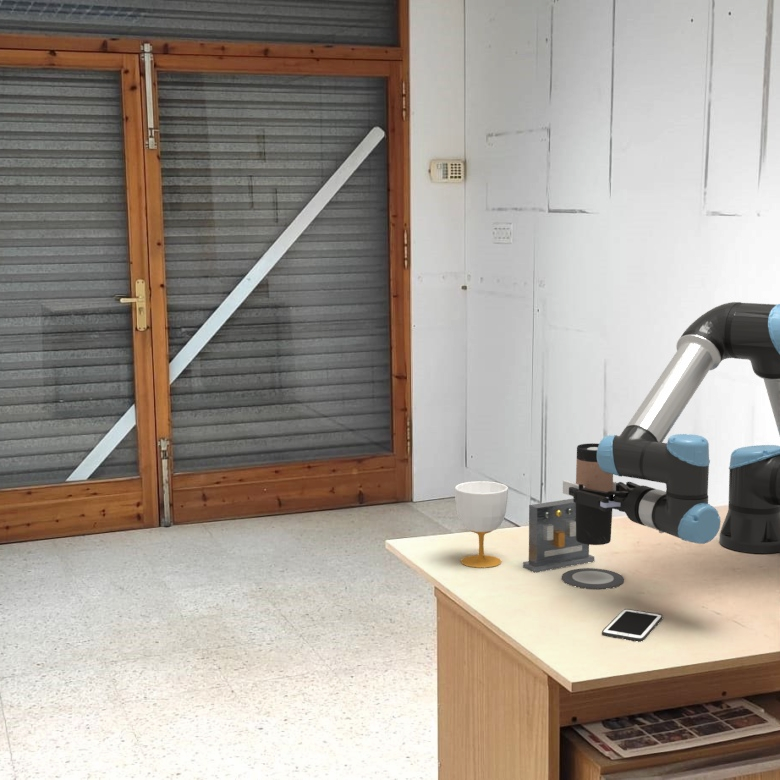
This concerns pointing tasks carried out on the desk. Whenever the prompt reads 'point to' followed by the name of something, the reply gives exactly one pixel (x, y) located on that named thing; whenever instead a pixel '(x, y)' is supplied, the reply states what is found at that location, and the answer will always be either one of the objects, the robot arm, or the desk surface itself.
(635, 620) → the cell phone
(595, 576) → the pad
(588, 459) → the travel mug
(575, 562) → the breaker panel
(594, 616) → the desk surface
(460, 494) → the cup
